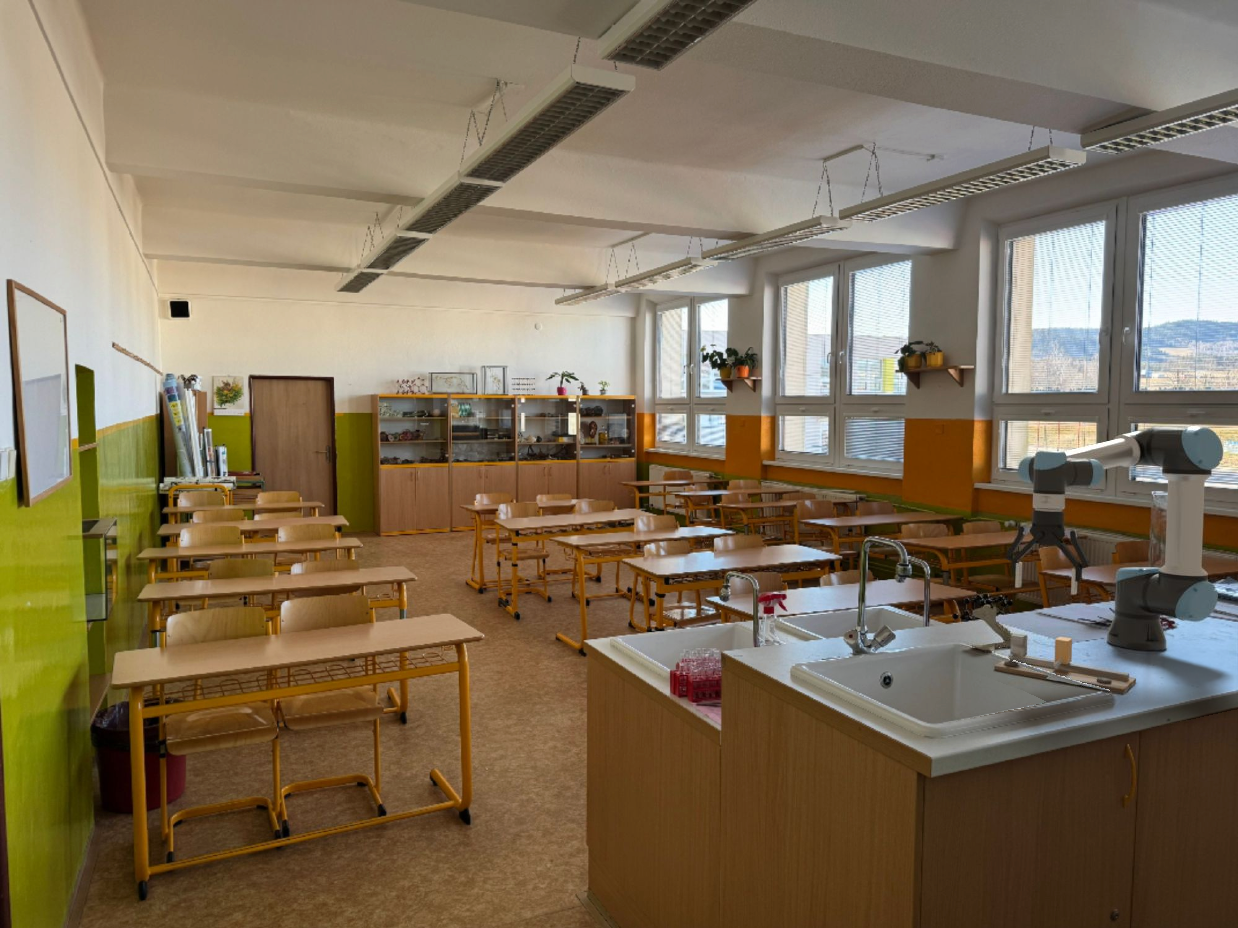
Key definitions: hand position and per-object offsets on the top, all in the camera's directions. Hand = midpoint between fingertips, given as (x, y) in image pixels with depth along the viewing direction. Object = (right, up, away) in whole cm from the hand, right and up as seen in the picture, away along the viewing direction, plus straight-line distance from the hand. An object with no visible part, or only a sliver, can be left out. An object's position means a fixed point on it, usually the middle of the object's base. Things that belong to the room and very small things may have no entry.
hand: (1045, 590), depth 228 cm
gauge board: (+2, -21, -5) cm, 22 cm away
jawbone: (-4, -21, +25) cm, 32 cm away
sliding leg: (+2, -19, -4) cm, 20 cm away
